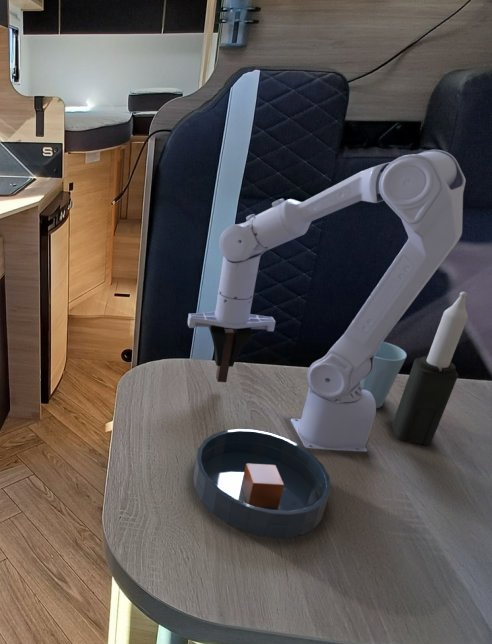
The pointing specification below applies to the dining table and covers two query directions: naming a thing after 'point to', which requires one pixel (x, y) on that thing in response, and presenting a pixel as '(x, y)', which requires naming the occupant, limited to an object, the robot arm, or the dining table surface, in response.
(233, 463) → the bowl
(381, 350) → the cup
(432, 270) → the robot arm
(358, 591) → the dining table surface
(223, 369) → the stick
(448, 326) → the candle
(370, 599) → the dining table surface
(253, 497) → the block
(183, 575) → the dining table surface
